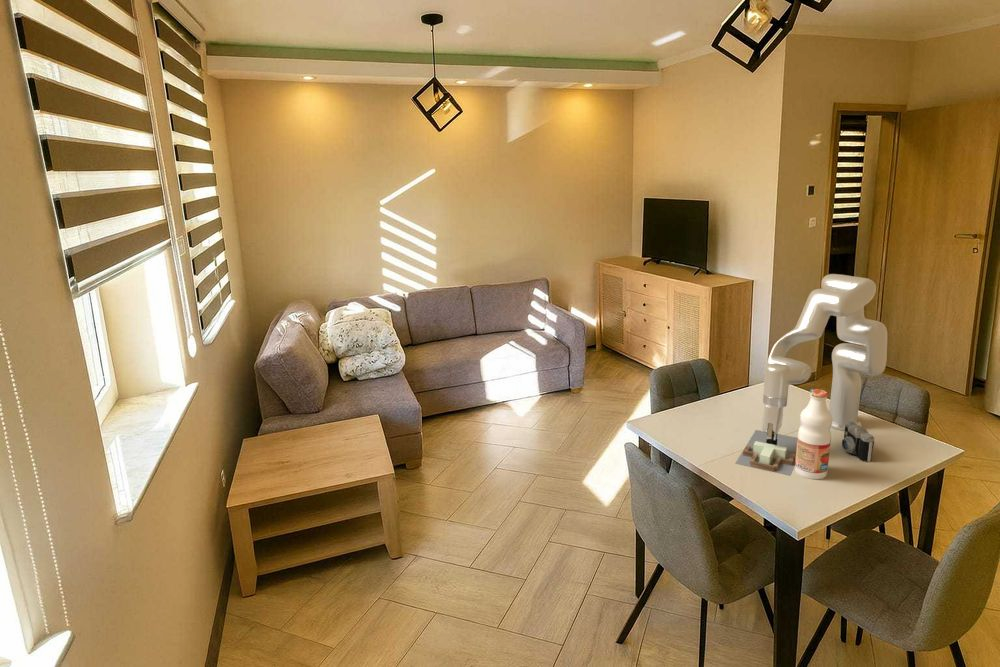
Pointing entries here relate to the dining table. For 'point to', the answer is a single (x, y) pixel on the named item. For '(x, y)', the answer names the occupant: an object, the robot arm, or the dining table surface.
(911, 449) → the dining table surface
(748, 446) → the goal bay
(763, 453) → the t block
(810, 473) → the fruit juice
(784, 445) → the mat
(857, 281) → the robot arm
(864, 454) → the camera
